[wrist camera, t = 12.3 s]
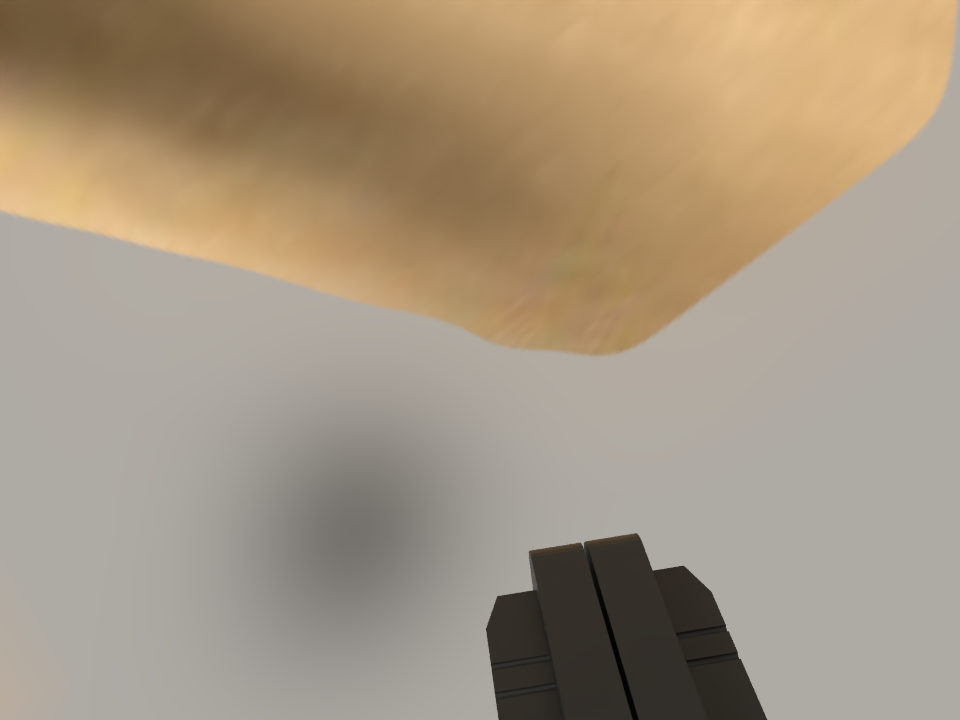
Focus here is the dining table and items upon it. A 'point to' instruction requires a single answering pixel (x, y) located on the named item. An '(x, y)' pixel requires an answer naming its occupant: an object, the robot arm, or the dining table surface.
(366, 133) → the dining table surface
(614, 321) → the dining table surface
